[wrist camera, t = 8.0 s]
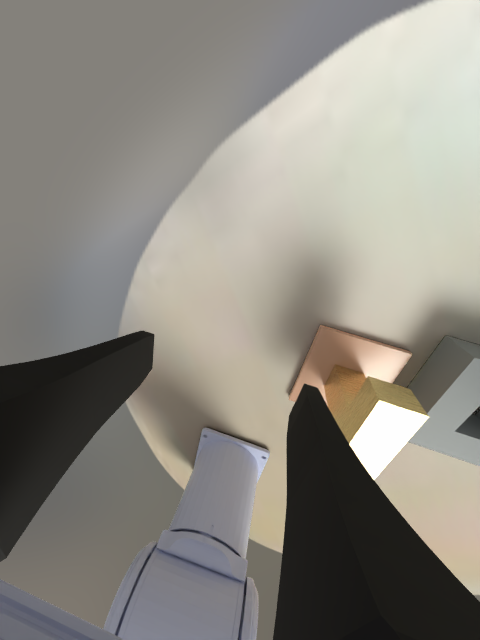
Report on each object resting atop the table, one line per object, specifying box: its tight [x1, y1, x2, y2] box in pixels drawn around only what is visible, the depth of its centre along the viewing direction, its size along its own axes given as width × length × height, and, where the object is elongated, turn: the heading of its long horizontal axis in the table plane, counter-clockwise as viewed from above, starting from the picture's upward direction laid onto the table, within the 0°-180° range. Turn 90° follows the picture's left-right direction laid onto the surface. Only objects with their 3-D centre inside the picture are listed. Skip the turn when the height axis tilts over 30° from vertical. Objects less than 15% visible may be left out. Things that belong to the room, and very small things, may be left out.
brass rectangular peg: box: [324, 364, 429, 479], centre depth 16 cm, size 8×2×7 cm, turn 167°
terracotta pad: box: [289, 325, 412, 404], centre depth 19 cm, size 8×7×1 cm
